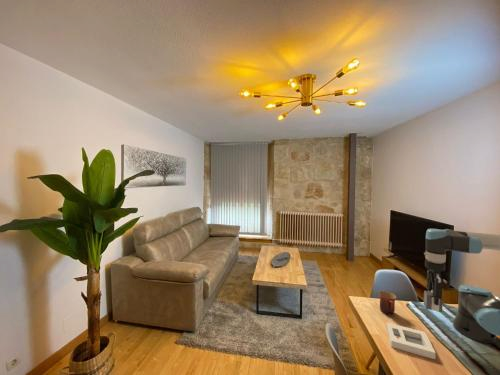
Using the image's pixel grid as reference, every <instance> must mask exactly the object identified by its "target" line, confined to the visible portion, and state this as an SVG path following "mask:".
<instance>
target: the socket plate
mask: <svg viewBox="0 0 500 375" xmlns="http://www.w3.org/2000/svg"><path fill="white" fill-rule="evenodd" d="M385 325H386V332H387V337H388V339H389V340H388V341H389V344H390V348H394V349H396V350H401V351H404V352H408V353H411V354H415V355H419V356H420V357H425V358H428V359H432V360H436V357H437V356H436V354H437V353H436V350H435V349H434V347H433V345H432V343H431V340H430V339H429V337H428V335H427V333H426V332H425V331H422V330H418V329H414V328H411V327H406V326H403V325H398V324H394V323H390V322H387V321H386V323H385Z"/></svg>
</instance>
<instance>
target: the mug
mask: <svg viewBox="0 0 500 375" xmlns="http://www.w3.org/2000/svg"><path fill="white" fill-rule="evenodd" d="M378 295H379V296H378V297H379V310H380V311H381V312H382V313H383V314H385V315H389V316H391V315H394V314H395V312H396V305H395V303H396V299H397V296H396V295H395V293H392V292H390V291H387V290H379V291H378Z"/></svg>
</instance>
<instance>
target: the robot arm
mask: <svg viewBox="0 0 500 375" xmlns="http://www.w3.org/2000/svg"><path fill="white" fill-rule="evenodd" d="M483 249H484V250H491V251H492V250H493V251H500V234H494V233H492V234H491V233H482V232H472V231H460V230H454V229H449V228H446V229H441V228H440V229H438V228H427V230H426V232H425V252H423V254H424V257H425V259H424V267H425V268H426V288H427V291H429V292H431V290H433V296H431V297H432V307H431V309H432V310H431V311H435V312H438V311H439V302H440V299H442V297H443V283H444V279H443V278H442V274H441V272H445V271H446V261H447V260H446V259H447V251H450V252H456V253H457V252H458V253H466V254H477V255H478V254H480V253H482V251H483ZM457 291H458V301H457V302H458V303H457V304H458V305H457V306H458V307H457V313H456V315H455V317H454V318H453V320H452V326H453V328H454V329H455V330H456V331H457V332H459V333H460V334H461V335H463V336H465V337H467V338H469V339H471V340H475V342H476V341H477V342H481V343H484V344H495V343H497V336H499V337H500V295H499V294H493V292H491V291H490V290H489V289H485V288H483V287H479V286H474V285H470V284H469V285H467V284H462V285H461V284H460V285H459V286H458V290H457Z"/></svg>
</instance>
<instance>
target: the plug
mask: <svg viewBox="0 0 500 375" xmlns="http://www.w3.org/2000/svg"><path fill="white" fill-rule="evenodd" d="M431 296H433V290H431V292H429V291H428V290H424V291H423V306H424V308H425V309H427V310H431V311H433V310H432V309H431V307H432V297H431ZM443 302H444V297H443V296H442V299H440V302H439V311H437V312H440V313H443V305H444V303H443Z"/></svg>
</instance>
